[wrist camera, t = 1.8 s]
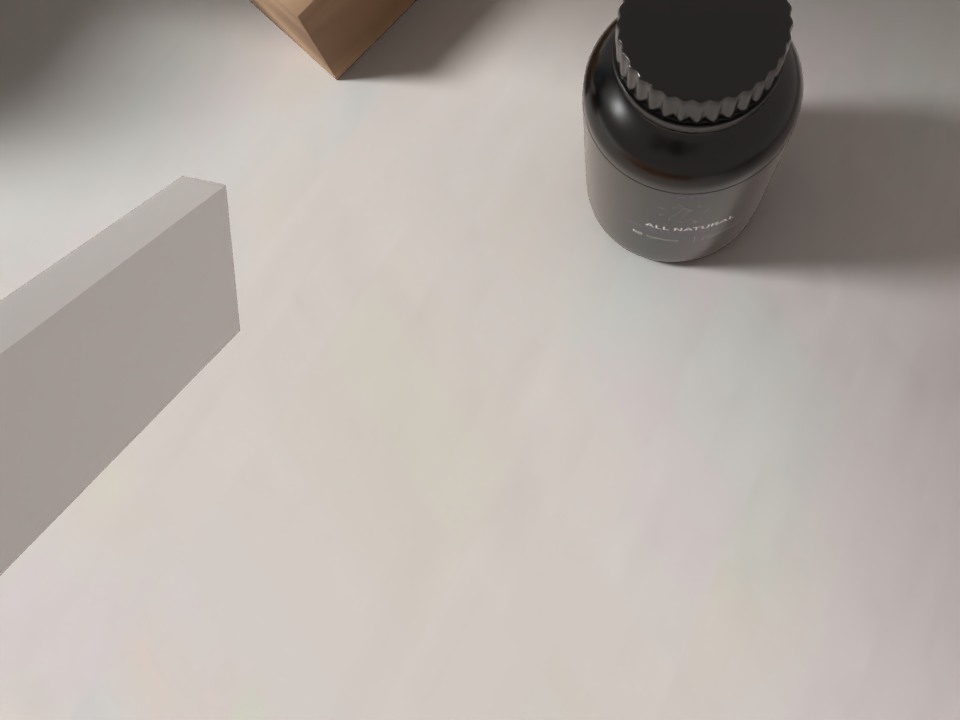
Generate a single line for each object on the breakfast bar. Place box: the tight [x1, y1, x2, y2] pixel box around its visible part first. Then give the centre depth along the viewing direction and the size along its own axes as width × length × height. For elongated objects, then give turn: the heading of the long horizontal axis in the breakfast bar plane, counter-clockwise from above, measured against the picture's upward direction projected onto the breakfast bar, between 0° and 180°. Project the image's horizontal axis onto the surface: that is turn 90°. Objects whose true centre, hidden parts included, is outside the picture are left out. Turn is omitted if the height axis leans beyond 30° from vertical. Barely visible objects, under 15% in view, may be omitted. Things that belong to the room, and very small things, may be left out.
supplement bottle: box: [583, 0, 803, 262], centre depth 31 cm, size 7×7×12 cm
